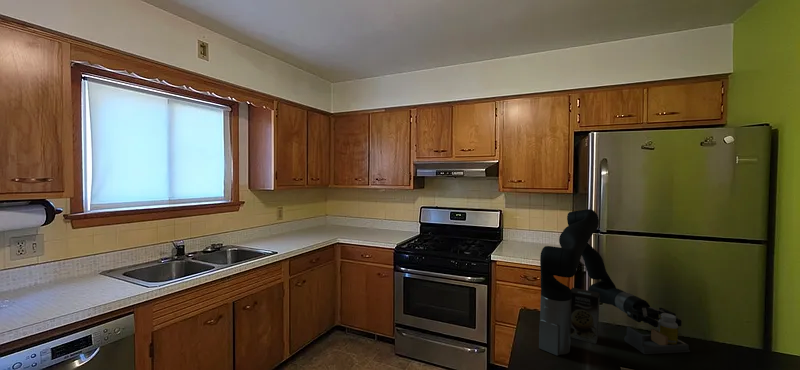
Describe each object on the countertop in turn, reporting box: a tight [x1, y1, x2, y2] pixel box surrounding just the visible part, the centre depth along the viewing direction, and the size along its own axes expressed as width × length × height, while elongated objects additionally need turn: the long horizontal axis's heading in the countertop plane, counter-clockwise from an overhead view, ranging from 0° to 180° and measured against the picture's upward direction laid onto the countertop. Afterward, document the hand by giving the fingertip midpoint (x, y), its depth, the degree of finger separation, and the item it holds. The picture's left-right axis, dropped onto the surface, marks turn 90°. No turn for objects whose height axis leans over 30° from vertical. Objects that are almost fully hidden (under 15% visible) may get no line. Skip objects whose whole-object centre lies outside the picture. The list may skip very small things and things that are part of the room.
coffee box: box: [570, 287, 600, 344], centre depth 122 cm, size 9×6×16 cm
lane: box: [623, 326, 691, 355], centre depth 116 cm, size 16×9×5 cm, turn 96°
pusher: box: [650, 328, 668, 345], centre depth 116 cm, size 1×6×4 cm, turn 6°
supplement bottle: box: [657, 313, 679, 345], centre depth 117 cm, size 5×5×10 cm
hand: (668, 324), depth 116 cm, fingers open, 8 cm apart
